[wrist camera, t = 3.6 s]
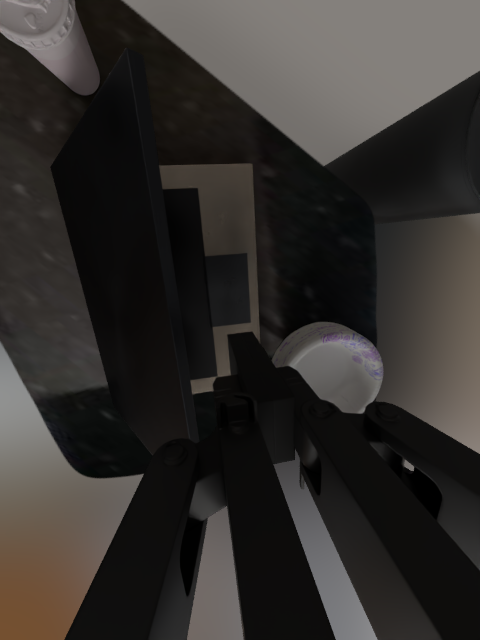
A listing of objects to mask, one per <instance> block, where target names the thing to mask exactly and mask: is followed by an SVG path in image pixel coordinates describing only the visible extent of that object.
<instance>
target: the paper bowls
mask: <svg viewBox="0 0 480 640" xmlns="http://www.w3.org/2000/svg"><path fill="white" fill-rule="evenodd" d="M272 362H273V364H274V365H275V367H276V368H277V367H284V366H290V367H292V368H294V369H296V370H297V371H298V372H299V373H300V374H301V376H302V378H304V379H305V381H306V383H308V384H309V386H310V387H311V388H312V389H313V391H314V392H315V393H316V394H317V396H318V397H319V398H320V399H322V400H327V401H329V402H331V403H333V404H335V405H336V406H337V407H338V408H339V409H340V410H341V411H342V412H346V413H359V414H362V413H363V412H364V411H365V408H366V406H367V405H368V404H369V403H372V402H373V401H374V399H375V398H376V396H377V394H378V392H379V390H380V387H381V383H382V380H383V363H382V359H381V356H380V354H379V352H378V350H377V349H376V347H375V346H374V345H373V344H372V343H371V342H370V341H369V340H368V339H366V338H365V337H363V336H362V335H360V334H358V333H356V332H355V331H353V330H351V329H349V328H347V327H346V326H343V325H340V324H337V323H332V322H316V323H312V324H309V325H306V326H303V327H301V328H299V329H298V330H296V331H294V332H293V333H291V334H290V335H289V336H288V337H287V338H286V339H285V340H284V341H283V342H282V343H281V345H280V346H279V347H278V349H277V350H276V352H275V354H274V356H273V358H272Z"/></svg>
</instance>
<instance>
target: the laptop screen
mask: <svg viewBox="0 0 480 640" xmlns="http://www.w3.org/2000/svg"><path fill="white" fill-rule="evenodd" d="M50 168H51V171H52V175H53V179H54V183H55V186H56V190H57V194H58V198H59V202H60V205H61V209H62V213H63V217H64V220H65V224H66V228H67V232H68V235H69V239H70V243H71V247H72V251H73V254H74V258H75V262H76V266H77V269H78V273H79V277H80V281H81V284H82V288H83V292H84V296H85V299H86V303H87V307H88V311H89V315H90V318H91V322H92V326H93V330H94V333H95V337H96V341H97V345H98V348H99V352H100V356H101V360H102V363H103V367H104V371H105V375H106V379H107V382H108V386H109V390H110V394H111V397H112V401H113V405H114V408H115V409H116V411H117V412H118V413H119V414H120V416H121V417H122V418H123V419H124V420H125V422H126V423H127V424H128V425H129V427H130V428H131V429H132V430H133V432H134V433H135V434H136V435H137V436H138V438H139V439H140V440H141V441H142V443H143V444H144V445H145V446H146V448H147V449H148V450H149V451H150V452H151V454H152V455H154V453H155V452H156V451H157V449H158V448H159V447H160V446H162V445H163V444H164V443H166V442H168V441H171V440H173V439H178V438H185V439H190V440H191V441H193V442H194V443H195V444H196V443H198V442H199V436H198V429H197V422H196V415H195V408H194V401H193V395H192V388H191V381H190V374H189V367H188V360H187V353H186V347H185V340H184V333H183V326H182V319H181V312H180V305H179V298H178V292H177V285H176V278H175V271H174V264H173V257H172V250H171V244H170V237H169V230H168V223H167V216H166V209H165V202H164V196H163V189H162V182H161V175H160V168H159V161H158V154H157V147H156V141H155V134H154V127H153V120H152V113H151V106H150V99H149V93H148V86H147V79H146V72H145V65H144V58H143V55H142V54H140V53H138V52H135V51H133V50H131V49H129V48H126V49H125V51H124V52H123V54H122V55H121V57H120V58H119V60H118V62H117V63H116V65H115V66H114V68H113V69H112V71H111V73H110V74H109V76H108V77H107V79H106V80H105V82H104V84H103V85H102V87H101V88H100V90H99V91H98V93H97V95H96V96H95V98H94V99H93V101H92V102H91V104H90V106H89V107H88V109H87V110H86V112H85V113H84V115H83V117H82V118H81V120H80V121H79V123H78V124H77V126H76V128H75V129H74V131H73V132H72V134H71V135H70V137H69V138H68V140H67V142H66V143H65V145H64V146H63V148H62V149H61V151H60V153H59V154H58V156H57V157H56V159H55V160H54V162H53V164H52V165H51V167H50Z"/></svg>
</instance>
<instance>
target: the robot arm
mask: <svg viewBox="0 0 480 640" xmlns="http://www.w3.org/2000/svg"><path fill="white" fill-rule="evenodd" d="M227 339H228V350H229V362H230V373H231V375H228V376H222V377H216V379H215V381H214V382H213V392H214V401H215V409H216V418H217V426H216V429H215V430H214V432H213V433H212V434H211V435H210V436H209V437H208V438H206V439H204V440H202V441H200V442H198V443H196V444H195V443H194V442H193V441H191V440H190V439H185V438H178V439H173V440H171V441H168V442H166V443H164V444H163V445H162V446H160V447H159V448H158V449H157V451H156V452H155V453H154V455H153V456H152V459H151V461H150V463H149V465H148V467H147V469H146V471H145V473H144V475H143V477H142V480H141V481H140V483H139V486H138V488H137V490H136V492H135V494H134V496H133V498H132V500H131V503H130V504H129V506H128V508H127V511H126V513H125V515H124V517H123V519H122V521H121V523H120V525H119V527H118V529H117V531H116V534H115V536H114V538H113V540H112V542H111V544H110V546H109V548H108V550H107V552H106V555H105V556H104V559H103V561H102V563H101V565H100V567H99V569H98V571H97V573H96V575H95V577H94V579H93V581H92V583H91V585H90V588H89V590H88V592H87V594H86V596H85V598H84V600H83V602H82V604H81V606H80V608H79V611H78V613H77V615H76V617H75V619H74V621H73V623H72V625H71V627H70V629H69V631H68V633H67V635H66V637H65V640H187V635H188V629H189V624H190V617H191V612H192V606H193V600H194V595H195V589H196V583H197V577H198V572H199V566H200V561H201V555H202V549H203V543H204V538H205V532H206V525H207V519H208V517H209V516H211V515H213V514H214V513H216V512H218V511H219V510H221V509H222V508H224V507H226V506H227V509H228V517H229V524H230V532H231V540H232V549H233V556H234V565H235V572H236V581H237V589H238V597H239V604H240V613H241V621H242V629H243V637H244V640H336V639H335V636H334V634H333V631H332V628H331V625H330V622H329V619H328V617H327V614H326V611H325V608H324V606H323V603H322V600H321V597H320V594H319V591H318V589H317V586H316V583H315V580H314V577H313V575H312V572H311V569H310V567H309V563H308V561H307V558H306V555H305V552H304V549H303V547H302V544H301V541H300V538H299V536H298V533H297V530H296V527H295V524H294V521H293V518H292V516H291V513H290V510H289V507H288V504H287V502H286V499H285V496H284V493H283V490H282V488H281V485H280V482H279V479H278V477H277V474H276V471H275V468H274V465H273V464H277V463H282V462H287V461H292V460H295V449H296V451H297V453H298V455H299V457H300V487H301V489H304V480H305V482H306V484H307V487H308V489H309V491H310V493H311V495H312V497H313V500H314V502H315V504H316V506H317V508H318V511H319V513H320V515H321V517H322V519H323V521H324V524H325V526H326V528H327V530H328V532H329V534H330V537H331V539H332V541H333V543H334V545H335V547H336V550H337V552H338V554H339V556H340V558H341V561H342V563H343V565H344V567H345V569H346V571H347V574H348V576H349V578H350V580H351V582H352V584H353V587H354V589H355V591H356V593H357V595H358V597H359V600H360V602H361V604H362V606H363V608H364V611H365V613H366V615H367V617H368V619H369V621H370V624H371V626H372V628H373V630H374V632H375V635H376V637H377V639H378V640H480V454H479V453H477V452H475V451H473V450H472V449H470V448H468V447H467V446H465V445H463V444H462V443H460V442H458V441H456V440H455V439H453V438H451V437H450V436H448V435H446V434H445V433H443V432H441V431H439V430H438V429H436V428H434V427H433V426H431V425H429V424H427V423H426V422H424V421H422V420H421V419H419V418H417V417H415V416H414V415H412V414H410V413H409V412H407V411H405V410H404V409H402V408H400V407H398V406H396V405H393V404H389V403H386V402H372V403H369V404H368V405H367V406H366V408H365V414H359V413H346V412H342V411H341V410H340V409H339V408H338V407H337V406H336V405H335V404H333V403H331V402H329V401H327V400H322V399H320V398H319V397H318V396H317V394H316V393H315V392H314V391H313V389H312V388H311V387H310V386H309V384H308V383H306V381H305V379H304V378H302V376H301V374H300V373H299V372H298V371H297V370H296V369H294V368H292V367H290V366H284V367H277V368H276V367H275V365H274V364H273V362H272V361H271V359H270V358H269V356H268V355H267V353H266V351H265V350H264V348H263V347H262V345H261V344H260V342H259V341H258V339H257V338H256V336H255V335H254V333H253V332H252V331H251V332H243V333H235V334H227ZM405 460H407V461H408V462H409V463H411V464H412V465H413V466H414V471H410V470H409V469H407V468H406V467H404V462H405Z"/></svg>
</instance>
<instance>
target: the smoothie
mask: <svg viewBox="0 0 480 640" xmlns="http://www.w3.org/2000/svg"><path fill="white" fill-rule="evenodd" d="M0 32H1V33H2V34H3V35H4V36H5V37H7V38H8V39H9V40H11V41H13V42H14V43H16V44H18V45H20V46H21V47H24V48H25V49H26V50H27V51H28V52H30V53H31V54H32V55H33V56H34V57H35V58H36V59H38V60H39V61H40V62H41V63H42V64H43V65H44V66H45V67H47V68H48V69H49V70H50V71H51V72H52V73H53V74H54V75H56V76H57V77H58V78H59V79H60V80H61V81H62V82H63V83H65V84H66V85H67V86H68V87H69V88H70V89H71V90H73V91H74V92H76V93H77V94H80V95H90V94H93V93H94V92H95V91H96V90H97V89H98V86H99V83H100V74H99V70H98V68H97V65H96V62H95V60H94V57H93V54H92V52H91V49H90V46H89V44H88V41H87V39H86V36H85V33H84V31H83V28H82V25H81V23H80V20H79V17H78V15H77V12H76V9H75V0H0Z"/></svg>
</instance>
